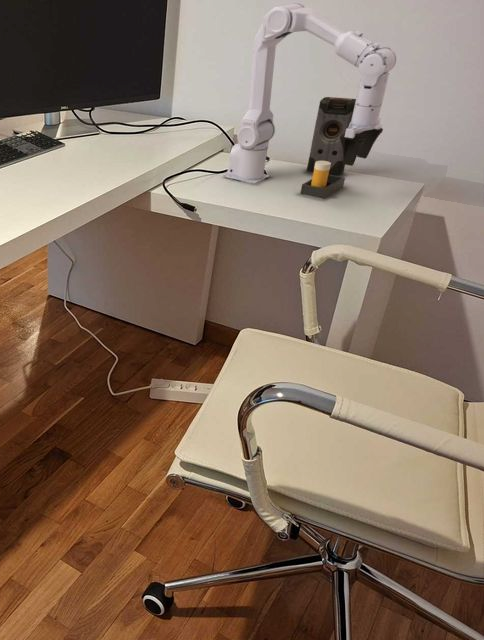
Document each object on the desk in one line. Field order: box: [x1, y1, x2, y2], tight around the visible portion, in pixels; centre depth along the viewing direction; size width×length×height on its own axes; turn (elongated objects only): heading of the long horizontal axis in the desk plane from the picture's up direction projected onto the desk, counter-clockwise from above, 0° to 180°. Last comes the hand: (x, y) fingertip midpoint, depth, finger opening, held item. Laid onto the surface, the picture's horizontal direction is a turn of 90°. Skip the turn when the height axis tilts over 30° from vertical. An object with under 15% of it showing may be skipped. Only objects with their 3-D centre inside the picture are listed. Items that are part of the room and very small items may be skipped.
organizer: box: [300, 174, 346, 200], centre depth 175 cm, size 6×12×3 cm, turn 133°
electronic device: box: [306, 96, 356, 177], centre depth 182 cm, size 9×6×20 cm, turn 58°
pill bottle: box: [311, 161, 331, 188], centre depth 172 cm, size 4×4×8 cm
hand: (355, 161), depth 165 cm, fingers open, 7 cm apart
